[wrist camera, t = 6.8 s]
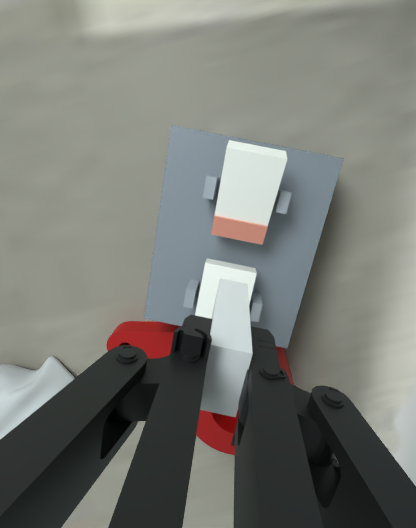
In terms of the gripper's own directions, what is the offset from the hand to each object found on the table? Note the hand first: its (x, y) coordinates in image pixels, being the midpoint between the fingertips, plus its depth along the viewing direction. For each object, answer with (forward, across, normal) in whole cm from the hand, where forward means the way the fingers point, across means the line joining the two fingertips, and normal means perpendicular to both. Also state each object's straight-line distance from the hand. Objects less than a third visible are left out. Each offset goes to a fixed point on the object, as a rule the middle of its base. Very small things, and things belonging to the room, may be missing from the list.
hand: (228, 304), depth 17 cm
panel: (+13, 0, +1) cm, 13 cm away
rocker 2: (+6, 0, -3) cm, 6 cm away
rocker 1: (+6, 0, +5) cm, 8 cm away
